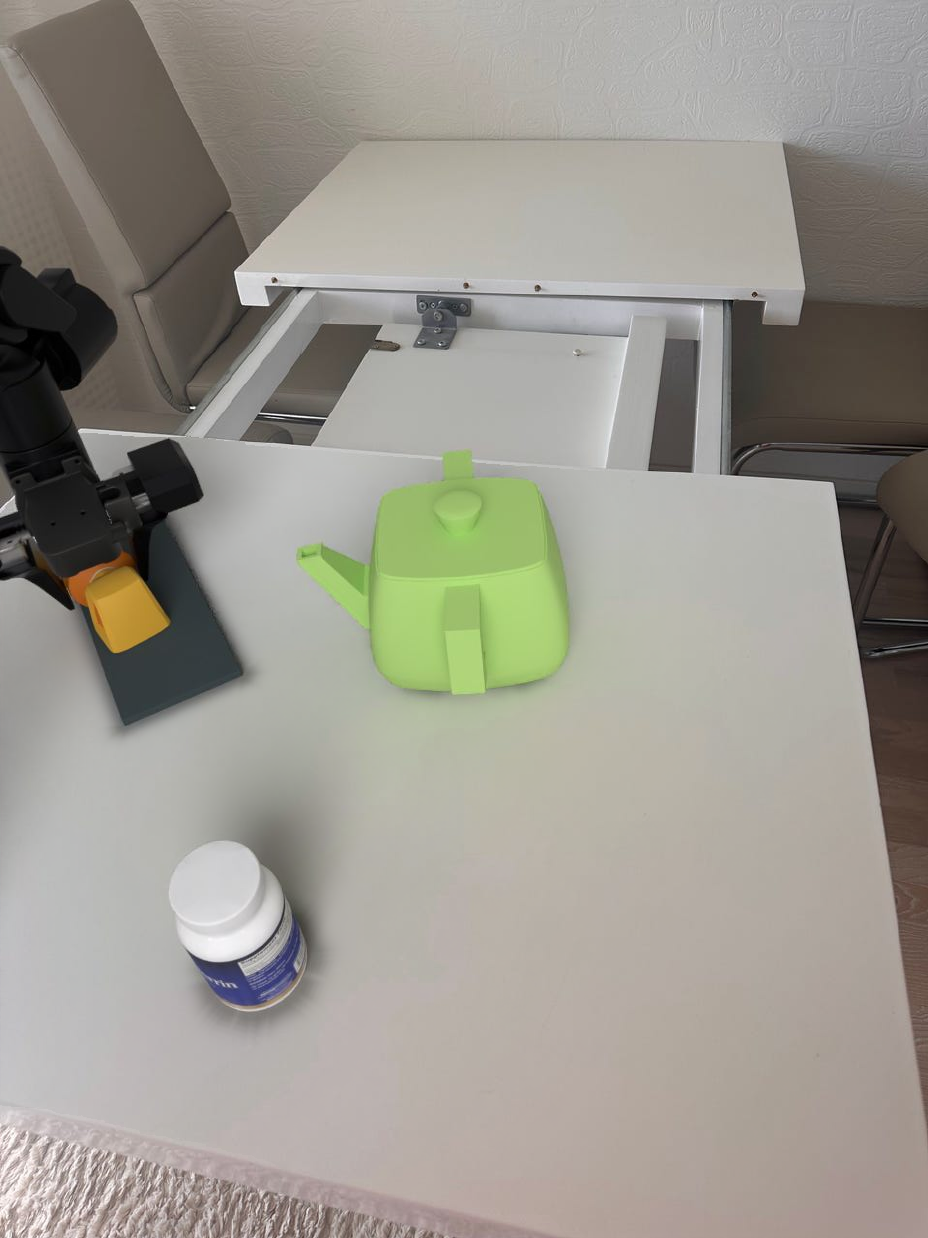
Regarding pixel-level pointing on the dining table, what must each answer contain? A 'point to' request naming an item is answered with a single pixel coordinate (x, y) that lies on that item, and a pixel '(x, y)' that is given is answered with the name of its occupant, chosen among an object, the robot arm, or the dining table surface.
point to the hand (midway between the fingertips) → (108, 592)
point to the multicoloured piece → (118, 603)
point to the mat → (167, 641)
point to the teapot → (456, 583)
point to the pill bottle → (237, 925)
